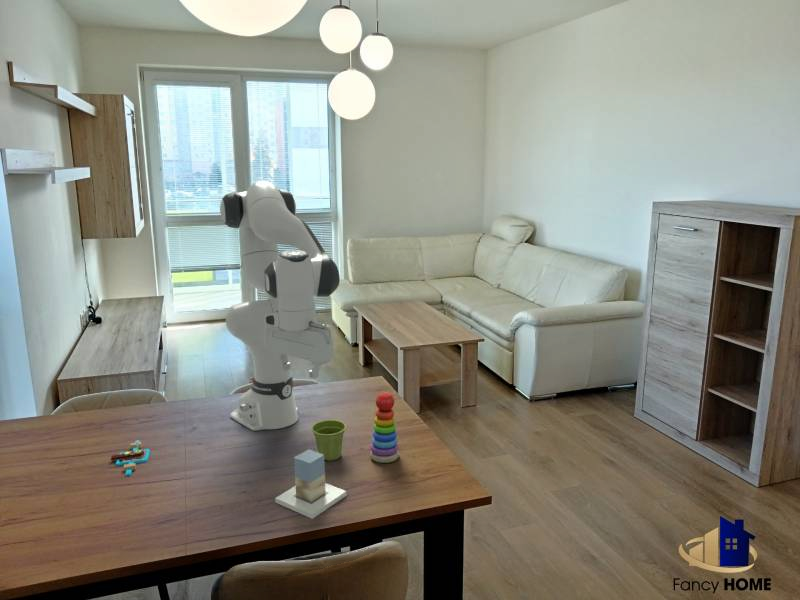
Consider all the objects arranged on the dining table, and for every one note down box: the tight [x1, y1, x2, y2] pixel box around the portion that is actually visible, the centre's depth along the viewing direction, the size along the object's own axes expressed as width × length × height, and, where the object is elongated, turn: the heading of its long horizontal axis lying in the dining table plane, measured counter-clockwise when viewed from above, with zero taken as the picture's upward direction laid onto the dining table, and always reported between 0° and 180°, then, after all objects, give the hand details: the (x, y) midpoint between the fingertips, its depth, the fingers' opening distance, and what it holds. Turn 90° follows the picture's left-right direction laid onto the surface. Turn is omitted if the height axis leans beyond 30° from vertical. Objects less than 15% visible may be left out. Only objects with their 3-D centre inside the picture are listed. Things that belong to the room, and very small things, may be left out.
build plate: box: [274, 482, 347, 520], centre depth 146 cm, size 12×12×1 cm
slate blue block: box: [293, 448, 326, 483], centre depth 145 cm, size 5×5×5 cm
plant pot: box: [311, 419, 347, 461], centre depth 167 cm, size 9×9×9 cm
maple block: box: [294, 473, 326, 502], centre depth 146 cm, size 5×5×5 cm
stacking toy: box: [369, 391, 400, 464], centre depth 165 cm, size 8×8×19 cm
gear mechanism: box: [110, 440, 150, 477], centre depth 167 cm, size 20×5×9 cm
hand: (299, 373), depth 148 cm, fingers open, 8 cm apart
